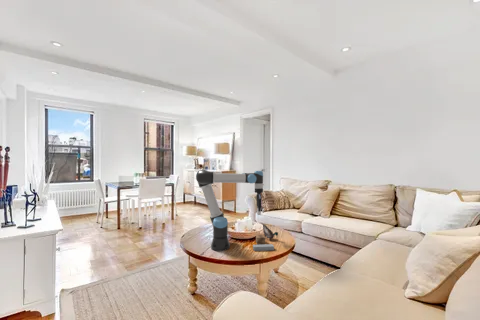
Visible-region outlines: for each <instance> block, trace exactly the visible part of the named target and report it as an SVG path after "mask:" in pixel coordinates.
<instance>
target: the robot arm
mask: <svg viewBox="0 0 480 320" xmlns="http://www.w3.org/2000/svg"><path fill="white" fill-rule="evenodd" d="M195 180H196V182H197V184H198V187H199V188H200V189H201V190H202V193H203V196H204V199H205V202H206V204H207V207H208V211H209V213H210V215H209V219H210V221H211V225H212V228H213V229H212V233H213V234H212V236H213V237H212V242H211V243H210V249H211V250H213V251H216V252H222V251H227V250H230V248H231V245H230V241H229V238H228V234H229V232H228V229H229V227H228V225H229V222H228V218H226V217H225V215H224V213H223V211H221V209H220V206H219V202H218V201H217V197H216V194H215V192H214V189H213V185H214V184H215V183H221V184H225V183H226V184H227V183H231V184H235V183H236V184H254V193H256V194H255V195H256V214H257V216H261V215H262V210H261V209H262V194H263V193H264V186H265V185H264V172H263V171H262V170H255V171H254V172H246V173H245V172H244V173H225V172H224V173H223V172H222V173H221V172H214V171H208V170H206V169H201V170H198V171H197V172H196V174H195ZM261 193H262V194H261Z"/></svg>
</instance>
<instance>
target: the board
mask: <svg viewBox="0 0 480 320" xmlns="http://www.w3.org/2000/svg"><path fill="white" fill-rule="evenodd" d="M252 249H253V252H256V251H257V252H258V251H259V252H260V251H275V246H274V244H271V243H270V244H267V243H265V244H261V245H257V244H252Z"/></svg>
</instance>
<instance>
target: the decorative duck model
mask: <svg viewBox="0 0 480 320" xmlns="http://www.w3.org/2000/svg"><path fill="white" fill-rule="evenodd" d="M262 231H263V235H264V236H265V238H267V239H270V240H272V239H273V238H275V236H276V237H278V235H279V232H278V231H275V232H274V233H273V231H272V230H271V229H270V228H269V227H268V226H267V225H266V224H262Z"/></svg>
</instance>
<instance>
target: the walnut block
mask: <svg viewBox="0 0 480 320" xmlns="http://www.w3.org/2000/svg"><path fill="white" fill-rule="evenodd" d="M255 244H256V245H261V244H266V237H265V236H264V234H256V235H255Z"/></svg>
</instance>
